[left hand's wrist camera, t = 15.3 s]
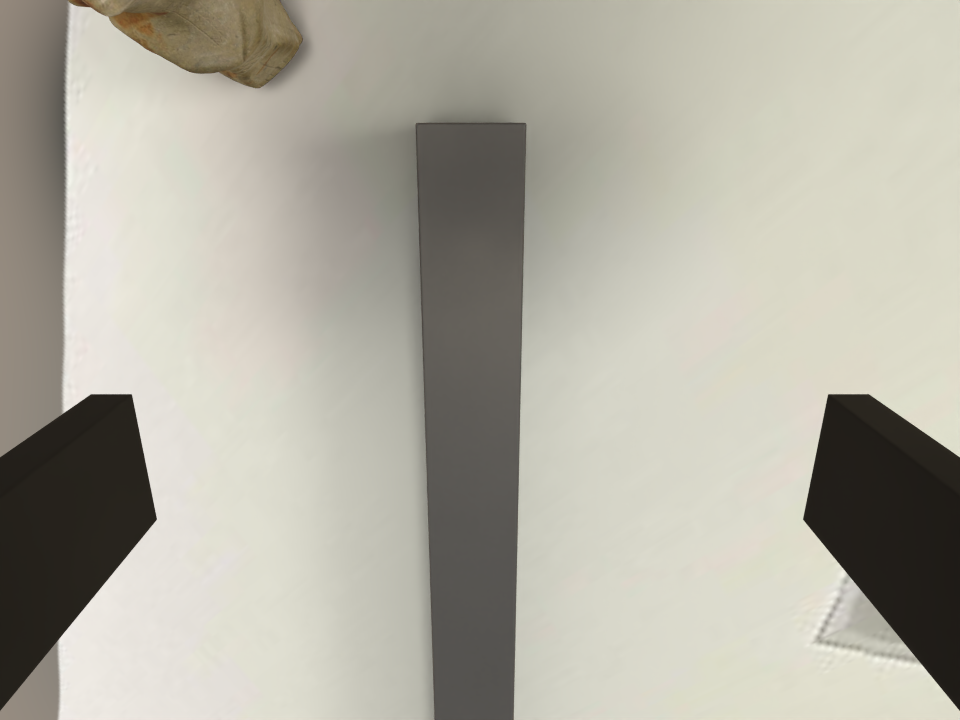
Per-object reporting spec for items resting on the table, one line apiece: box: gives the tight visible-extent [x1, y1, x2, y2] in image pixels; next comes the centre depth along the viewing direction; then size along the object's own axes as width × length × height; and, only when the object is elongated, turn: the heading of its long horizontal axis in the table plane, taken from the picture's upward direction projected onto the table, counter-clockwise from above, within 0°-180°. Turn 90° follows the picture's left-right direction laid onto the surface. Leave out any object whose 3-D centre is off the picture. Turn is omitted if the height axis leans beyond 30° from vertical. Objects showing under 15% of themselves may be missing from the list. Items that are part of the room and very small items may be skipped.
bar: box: [416, 123, 526, 720], centre depth 46 cm, size 78×5×7 cm, turn 0°
